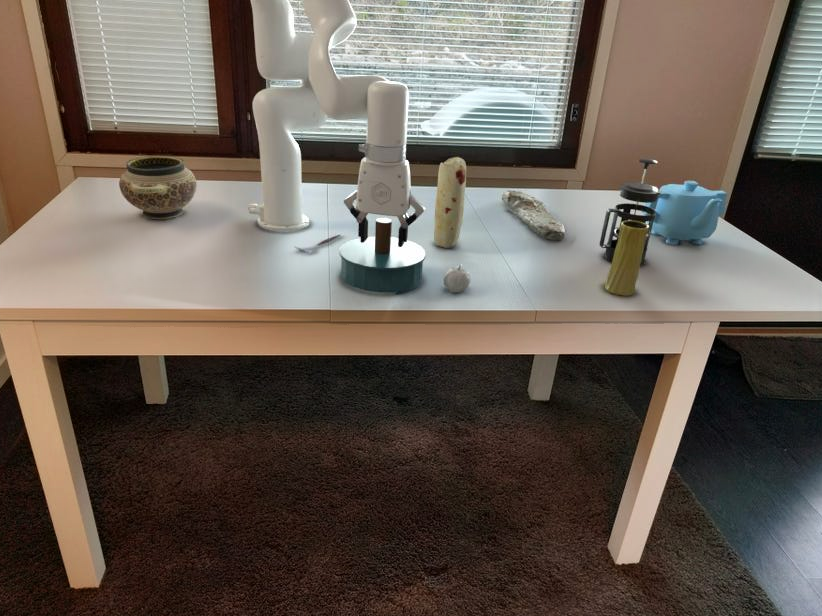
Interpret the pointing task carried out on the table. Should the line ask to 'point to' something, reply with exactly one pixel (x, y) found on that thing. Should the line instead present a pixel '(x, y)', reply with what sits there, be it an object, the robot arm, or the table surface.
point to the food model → (449, 202)
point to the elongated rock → (533, 214)
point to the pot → (381, 278)
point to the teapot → (687, 212)
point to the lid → (382, 250)
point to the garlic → (457, 279)
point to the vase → (627, 258)
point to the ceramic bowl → (158, 185)
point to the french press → (632, 193)
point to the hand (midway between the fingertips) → (382, 242)
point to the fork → (320, 243)
